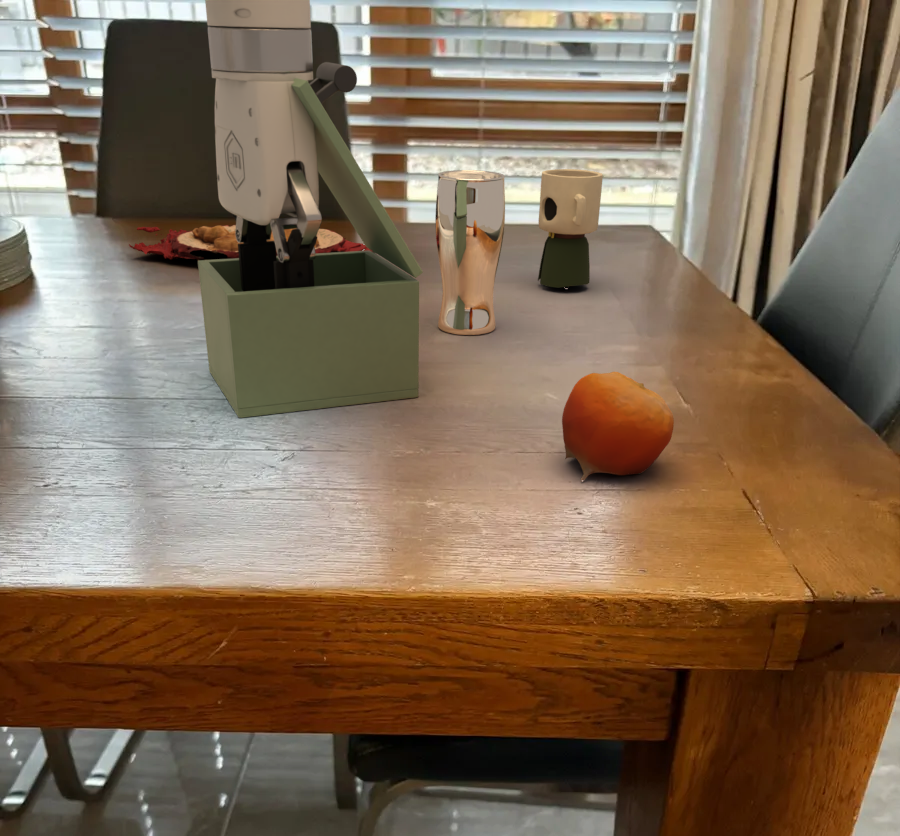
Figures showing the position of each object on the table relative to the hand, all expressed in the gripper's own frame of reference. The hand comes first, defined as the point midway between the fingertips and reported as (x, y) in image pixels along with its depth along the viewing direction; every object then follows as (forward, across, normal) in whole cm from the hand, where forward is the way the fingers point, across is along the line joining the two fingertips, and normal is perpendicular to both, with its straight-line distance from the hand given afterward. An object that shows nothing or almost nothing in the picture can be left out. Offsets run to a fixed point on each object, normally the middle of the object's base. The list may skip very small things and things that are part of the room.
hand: (277, 298), depth 82 cm
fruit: (+8, +28, +14) cm, 32 cm away
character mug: (+8, -18, +45) cm, 49 cm away
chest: (+8, 0, +2) cm, 8 cm away
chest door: (-9, +1, +5) cm, 11 cm away
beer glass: (+8, -8, +25) cm, 27 cm away
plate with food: (+8, -52, +20) cm, 56 cm away
